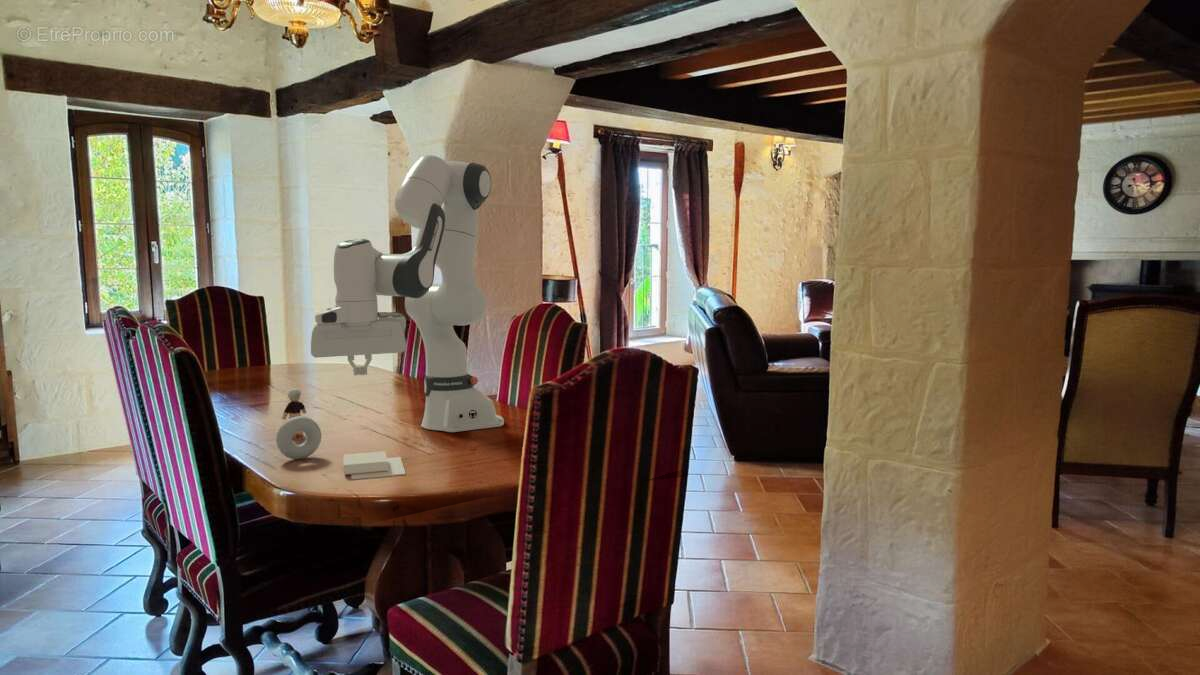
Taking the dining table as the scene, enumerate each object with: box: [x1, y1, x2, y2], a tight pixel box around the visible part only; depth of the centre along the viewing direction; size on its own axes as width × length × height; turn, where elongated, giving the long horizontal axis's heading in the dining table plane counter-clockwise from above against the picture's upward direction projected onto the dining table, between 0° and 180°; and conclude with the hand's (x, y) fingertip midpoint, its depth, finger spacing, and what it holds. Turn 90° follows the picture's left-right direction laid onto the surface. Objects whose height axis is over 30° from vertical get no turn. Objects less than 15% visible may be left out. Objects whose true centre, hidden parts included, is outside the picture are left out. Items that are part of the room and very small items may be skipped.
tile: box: [343, 450, 388, 476], centre depth 165 cm, size 2×9×9 cm
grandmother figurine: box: [281, 387, 307, 440], centre depth 195 cm, size 8×4×13 cm, turn 168°
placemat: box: [350, 456, 406, 480], centre depth 166 cm, size 11×14×1 cm
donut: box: [275, 415, 322, 460], centre depth 173 cm, size 10×4×10 cm, turn 128°
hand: (360, 374), depth 168 cm, fingers closed
